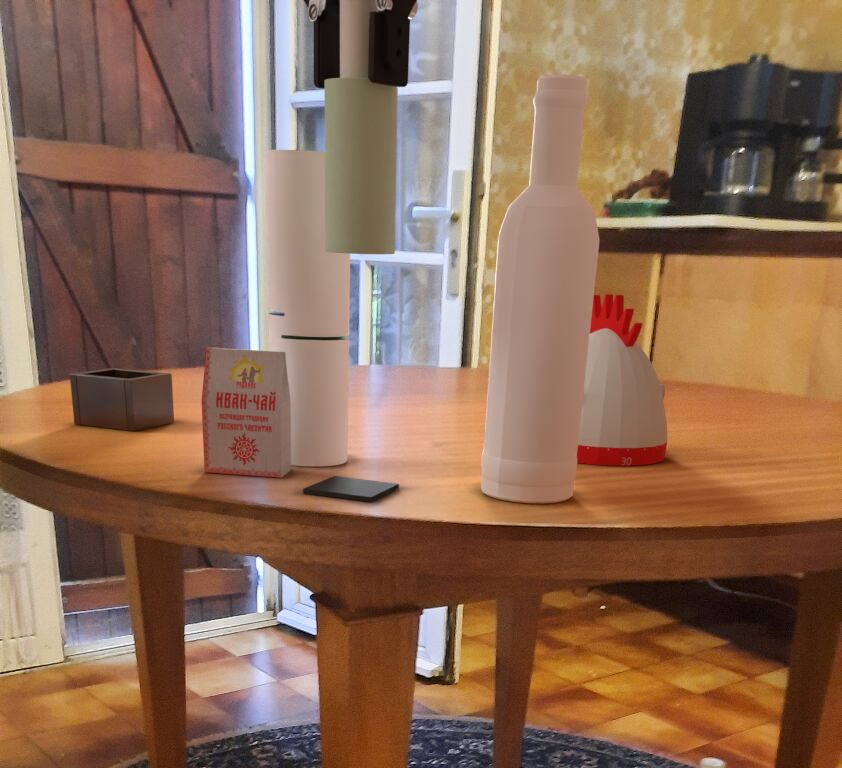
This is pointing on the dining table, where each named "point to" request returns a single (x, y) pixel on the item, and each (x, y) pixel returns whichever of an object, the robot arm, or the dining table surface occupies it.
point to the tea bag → (246, 413)
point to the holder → (122, 399)
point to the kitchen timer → (620, 393)
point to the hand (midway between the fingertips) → (360, 84)
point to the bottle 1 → (359, 145)
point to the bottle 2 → (542, 312)
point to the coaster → (351, 488)
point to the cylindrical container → (308, 306)
